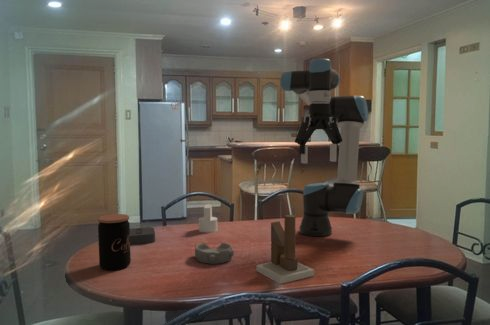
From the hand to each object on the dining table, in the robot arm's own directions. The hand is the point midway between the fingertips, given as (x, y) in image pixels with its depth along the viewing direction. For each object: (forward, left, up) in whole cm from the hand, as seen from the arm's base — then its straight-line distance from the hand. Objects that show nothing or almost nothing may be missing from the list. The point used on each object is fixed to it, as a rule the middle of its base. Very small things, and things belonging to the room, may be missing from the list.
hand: (318, 162), depth 148 cm
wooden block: (+4, -18, -34) cm, 39 cm away
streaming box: (-61, -49, -37) cm, 87 cm away
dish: (-22, -32, -37) cm, 54 cm away
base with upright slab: (-61, -16, -37) cm, 73 cm away
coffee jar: (-33, -66, -37) cm, 83 cm away
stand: (+4, -18, -37) cm, 41 cm away
